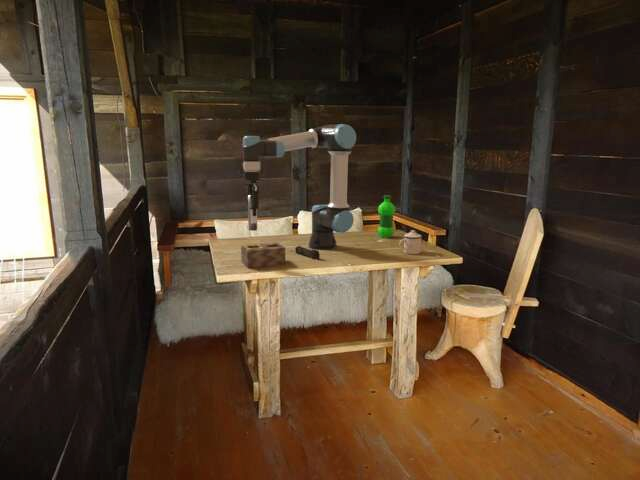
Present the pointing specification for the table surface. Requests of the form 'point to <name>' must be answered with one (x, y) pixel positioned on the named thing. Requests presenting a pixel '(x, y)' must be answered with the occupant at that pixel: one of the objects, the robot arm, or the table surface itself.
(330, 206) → the robot arm
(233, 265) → the table surface
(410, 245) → the teacup with lid
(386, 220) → the plastic bottle
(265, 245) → the hole block
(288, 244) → the table surface
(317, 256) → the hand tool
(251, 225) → the peg
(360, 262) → the table surface
